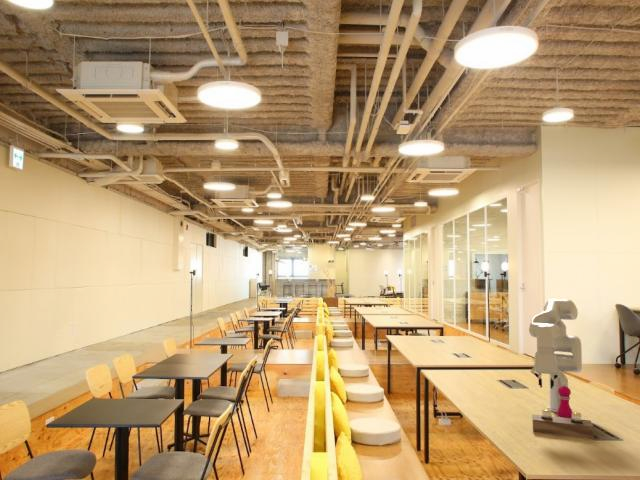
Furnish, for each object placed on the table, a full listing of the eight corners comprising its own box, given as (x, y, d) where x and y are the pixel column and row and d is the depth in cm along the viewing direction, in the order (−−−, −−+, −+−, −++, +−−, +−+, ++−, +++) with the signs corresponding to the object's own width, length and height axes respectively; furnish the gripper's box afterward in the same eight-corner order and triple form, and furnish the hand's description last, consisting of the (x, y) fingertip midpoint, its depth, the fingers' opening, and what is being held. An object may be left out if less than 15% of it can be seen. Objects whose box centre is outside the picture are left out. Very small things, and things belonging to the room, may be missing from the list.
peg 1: (542, 417, 238) (542, 408, 238) (551, 418, 236) (551, 409, 237) (542, 420, 234) (542, 410, 235) (551, 421, 233) (551, 411, 233)
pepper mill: (559, 419, 254) (558, 381, 255) (574, 422, 249) (573, 383, 251) (556, 422, 248) (555, 383, 250) (571, 425, 244) (570, 385, 245)
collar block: (532, 426, 242) (532, 414, 243) (590, 433, 232) (590, 420, 233) (533, 432, 233) (533, 419, 233) (593, 439, 223) (593, 426, 223)
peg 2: (571, 421, 233) (571, 411, 233) (580, 422, 232) (580, 412, 232) (572, 423, 229) (572, 414, 230) (581, 424, 228) (581, 415, 228)
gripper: (563, 350, 238) (564, 387, 237) (526, 348, 244) (527, 384, 243) (564, 352, 231) (565, 390, 230) (527, 350, 237) (528, 387, 236)
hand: (546, 387), depth 236 cm, fingers open, 4 cm apart
